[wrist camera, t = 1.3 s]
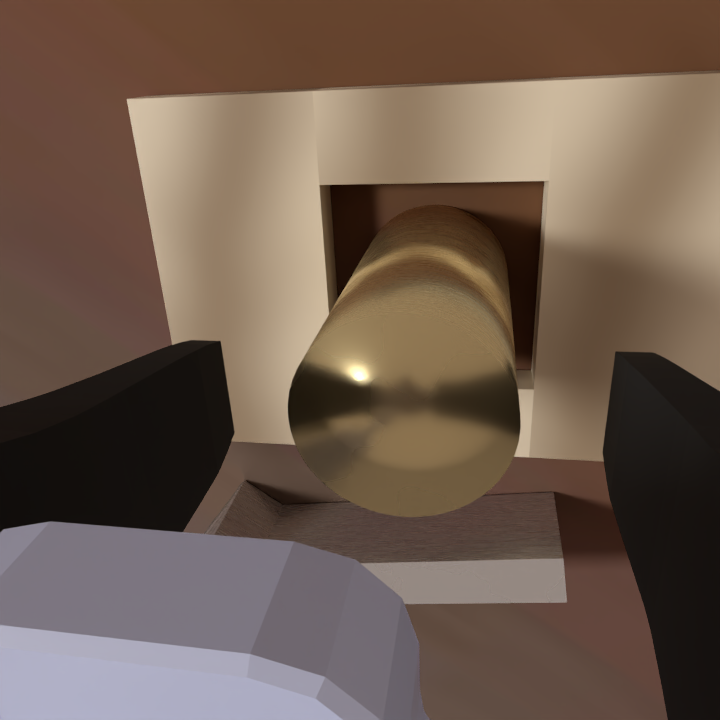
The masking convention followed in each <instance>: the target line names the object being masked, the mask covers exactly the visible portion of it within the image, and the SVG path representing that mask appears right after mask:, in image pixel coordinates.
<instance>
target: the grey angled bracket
mask: <svg viewBox="0 0 720 720" xmlns="http://www.w3.org/2000/svg"><path fill="white" fill-rule="evenodd" d="M204 534H209V535H221V536H233V537H245V538H257V539H269V540H281V541H293V542H297V543H301V544H304V545H308V546H311V547H314V548H318V549H321V550H325V551H328V552H331V553H335V554H338V555H342V556H345V557H348V558H352V559H355V560H357V561H358V562H359V563H360V564H362V565H363V566H364V567H365V568H366V569H368V570H369V571H370V572H371V573H372V574H374V575H375V576H376V577H377V578H378V579H380V580H381V581H382V582H383V583H385V584H386V585H387V586H388V587H389V588H391V589H392V590H393V591H394V592H395V593H397V594H398V595H399V596H400V597H401V598H402V599H403V602H404V604H452V603H554V602H567V597H566V585H565V573H564V560H563V553H562V546H561V539H560V532H559V526H558V519H557V512H556V505H555V499H554V492H547V493H526V494H505V495H484V496H481V497H480V498H478V499H476V500H475V501H473V502H471V503H470V504H467V505H465V506H463V507H461V508H459V509H456V510H453V511H450V512H447V513H443V514H438V515H433V516H423V517H401V516H393V515H387V514H383V513H378V512H375V511H372V510H369V509H366V508H363V507H360V506H358V505H356V504H354V503H352V502H337V503H316V504H295V505H282V504H280V503H279V502H277V501H276V500H274V499H273V498H271V497H270V496H268V495H267V494H265V493H263V492H262V491H260V490H259V489H257V488H256V487H254V486H253V485H251V484H250V483H248V482H247V481H244V482H243V483H242V484H241V486H240V487H239V488H238V490H237V491H236V492H235V494H234V495H233V496H232V498H231V499H230V500H229V502H228V503H227V504H226V505H225V507H224V508H223V509H222V511H221V512H220V513H219V515H218V516H217V517H216V519H215V520H214V521H213V523H212V524H211V525H210V526H209V528H208V529H207V530H206V532H205V533H204Z"/></svg>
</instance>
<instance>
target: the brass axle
mask: <svg viewBox="0 0 720 720" xmlns="http://www.w3.org/2000/svg"><path fill="white" fill-rule="evenodd" d="M288 420H289V425H290V430H291V434H292V437H293V440H294V443H295V445H296V447H297V449H298V451H299V453H300V455H301V457H302V458H303V460H304V461H305V463H306V464H307V466H308V467H309V468H310V469H311V471H312V472H313V473H314V474H315V475H316V477H318V478H319V479H320V480H321V481H322V482H323V483H324V484H325V485H326V486H327V487H329V488H330V489H331V490H332V491H334V492H335V493H336V494H338V495H340V496H341V497H343V498H345V499H346V500H348V501H350V502H352V503H354V504H356V505H358V506H360V507H363V508H366V509H369V510H372V511H375V512H378V513H383V514H387V515H393V516H401V517H423V516H433V515H438V514H443V513H447V512H450V511H453V510H456V509H459V508H461V507H463V506H465V505H467V504H470V503H471V502H473V501H475V500H476V499H478V498H480V497H481V496H483V495H484V494H485V493H486V492H487V491H489V490H490V489H491V488H492V487H493V486H494V485H495V484H496V483H497V482H498V481H499V480H500V479H501V478H502V476H503V475H504V473H505V472H506V470H507V469H508V467H509V466H510V464H511V461H512V459H513V457H514V455H515V452H516V449H517V446H518V443H519V436H520V429H521V421H520V405H519V393H518V382H517V371H516V360H515V349H514V337H513V326H512V315H511V304H510V292H509V281H508V270H507V263H506V258H505V255H504V251H503V249H502V247H501V245H500V243H499V241H498V239H497V238H496V236H495V235H494V233H493V232H492V231H491V230H490V229H489V228H488V226H487V225H485V224H484V223H483V222H482V221H481V220H479V219H478V218H476V217H475V216H473V215H472V214H470V213H468V212H466V211H463V210H461V209H458V208H454V207H450V206H444V205H427V206H421V207H416V208H413V209H410V210H407V211H405V212H403V213H401V214H399V215H397V216H396V217H394V218H393V219H391V220H390V221H389V222H387V223H386V224H385V225H384V226H383V227H382V228H381V229H380V231H379V232H378V233H377V234H376V236H375V237H374V239H373V241H372V242H371V244H370V246H369V247H368V249H367V251H366V252H365V254H364V256H363V257H362V259H361V261H360V263H359V264H358V266H357V268H356V269H355V271H354V273H353V274H352V276H351V278H350V280H349V281H348V283H347V285H346V286H345V288H344V290H343V291H342V293H341V295H340V297H339V298H338V300H337V302H336V303H335V305H334V307H333V308H332V310H331V312H330V313H329V315H328V317H327V319H326V320H325V322H324V324H323V325H322V327H321V329H320V330H319V332H318V334H317V336H316V337H315V339H314V341H313V342H312V344H311V346H310V347H309V349H308V351H307V353H306V354H305V356H304V358H303V359H302V361H301V363H300V364H299V366H298V368H297V370H296V373H295V375H294V377H293V379H292V383H291V387H290V391H289V398H288Z"/></svg>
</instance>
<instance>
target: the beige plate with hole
mask: <svg viewBox="0 0 720 720" xmlns="http://www.w3.org/2000/svg"><path fill="white" fill-rule="evenodd" d="M127 103H128V108H129V114H130V119H131V124H132V130H133V135H134V141H135V146H136V151H137V157H138V162H139V167H140V173H141V178H142V184H143V189H144V194H145V200H146V205H147V210H148V216H149V221H150V226H151V232H152V237H153V243H154V248H155V253H156V259H157V264H158V269H159V275H160V280H161V286H162V291H163V296H164V302H165V307H166V312H167V318H168V323H169V328H170V334H171V339H172V345H174V344H177V343H180V342H184V341H189V340H207V341H221V346H222V353H223V359H224V366H225V372H226V379H227V385H228V392H229V399H230V405H231V412H232V418H233V425H234V431H235V433H234V436H233V438H232V441H237V442H255V443H274V444H292V445H295V443H294V440H293V437H292V434H291V430H290V425H289V420H288V398H289V391H290V387H291V383H292V379H293V377H294V375H295V373H296V370H297V368H298V366H299V364H300V363H301V361H302V359H303V358H304V356H305V354H306V353H307V351H308V349H309V347H310V346H311V344H312V342H313V341H314V339H315V337H316V336H317V334H318V332H319V330H320V329H321V327H322V325H323V324H324V322H325V320H326V319H327V317H328V315H329V313H330V312H331V310H332V308H333V307H334V305H335V303H336V302H337V300H338V295H337V280H336V266H335V251H334V236H333V221H332V206H331V191H330V185H348V184H403V183H458V182H514V181H544V193H543V208H542V223H541V237H540V252H539V266H538V281H537V295H536V310H535V324H534V339H533V354H532V368H531V370H516V371H517V382H518V393H519V405H520V421H521V429H520V436H519V443H518V446H517V449H516V452H515V455H514V457H533V458H551V459H569V460H588V461H604V459H603V444H604V436H605V428H606V421H607V413H608V405H609V397H610V389H611V382H612V374H613V366H614V358H615V351H619V352H653V353H656V354H658V355H660V356H662V357H664V358H666V359H668V360H670V361H671V362H673V363H675V364H676V365H678V366H680V367H681V368H683V369H685V370H686V371H688V372H689V373H691V374H693V375H694V376H696V377H697V378H699V379H701V380H702V381H704V382H706V383H707V384H709V385H710V386H712V387H714V388H715V389H717V390H719V391H720V70H717V71H694V72H672V73H650V74H627V75H605V76H583V77H560V78H538V79H516V80H493V81H471V82H449V83H426V84H404V85H382V86H359V87H337V88H315V89H293V90H270V91H248V92H226V93H203V94H181V95H159V96H145V97H138V98H132V99H127Z"/></svg>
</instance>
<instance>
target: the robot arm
mask: <svg viewBox="0 0 720 720" xmlns="http://www.w3.org/2000/svg"><path fill="white" fill-rule="evenodd" d="M234 433H235V431H234V425H233V418H232V412H231V405H230V399H229V392H228V385H227V379H226V372H225V366H224V359H223V353H222V346H221V341H207V340H189V341H184V342H180V343H177V344H174V345H171V346H168V347H165V348H162V349H160V350H157V351H154V352H152V353H149V354H147V355H144V356H142V357H139V358H137V359H135V360H132V361H130V362H127V363H125V364H122V365H120V366H117V367H115V368H113V369H110V370H108V371H105V372H103V373H100V374H97V375H95V376H92V377H90V378H87V379H84V380H82V381H79V382H76V383H74V384H71V385H68V386H66V387H63V388H60V389H58V390H55V391H52V392H49V393H46V394H43V395H40V396H37V397H34V398H31V399H27V400H24V401H21V402H17V403H14V404H10V405H7V406H3V407H0V720H431V719H429V718H428V716H427V715H426V713H425V711H424V708H423V703H422V698H421V693H420V664H419V642H418V639H417V637H416V634H415V631H414V629H413V626H412V623H411V621H410V618H409V615H408V613H407V610H406V607H405V604H404V602H403V599H402V598H401V597H400V596H399V595H398V594H397V593H395V592H394V591H393V590H392V589H391V588H389V587H388V586H387V585H386V584H385V583H383V582H382V581H381V580H380V579H378V578H377V577H376V576H375V575H374V574H372V573H371V572H370V571H369V570H368V569H366V568H365V567H364V566H363V565H362V564H360V563H359V562H358V561H357V560H355V559H352V558H348V557H345V556H342V555H338V554H335V553H331V552H328V551H325V550H321V549H318V548H314V547H311V546H308V545H304V544H301V543H297V542H293V541H281V540H269V539H257V538H245V537H233V536H221V535H209V534H197V533H185V532H183V530H184V529H185V527H186V526H187V524H188V522H189V521H190V519H191V518H192V516H193V514H194V513H195V511H196V509H197V508H198V506H199V505H200V503H201V501H202V500H203V498H204V496H205V495H206V493H207V491H208V490H209V488H210V486H211V485H212V483H213V481H214V480H215V478H216V476H217V474H218V472H219V470H220V468H221V466H222V463H223V461H224V459H225V456H226V454H227V451H228V449H229V446H230V443H231V441H232V438H233V436H234ZM603 459H604V466H605V472H606V479H607V485H608V491H609V496H610V501H611V504H612V507H613V510H614V514H615V517H616V520H617V523H618V526H619V529H620V533H621V536H622V539H623V542H624V545H625V548H626V551H627V554H628V557H629V560H630V563H631V566H632V570H633V573H634V576H635V579H636V582H637V585H638V588H639V591H640V594H641V597H642V600H643V603H644V607H645V611H646V614H647V618H648V622H649V625H650V629H651V634H652V639H653V644H654V649H655V654H656V659H657V664H658V669H659V674H660V679H661V684H662V689H663V695H664V700H665V706H666V712H667V717H668V720H720V391H719V390H717V389H715V388H714V387H712V386H710V385H709V384H707V383H706V382H704V381H702V380H701V379H699V378H697V377H696V376H694V375H693V374H691V373H689V372H688V371H686V370H685V369H683V368H681V367H680V366H678V365H676V364H675V363H673V362H671V361H670V360H668V359H666V358H664V357H662V356H660V355H658V354H656V353H653V352H619V351H615V358H614V366H613V374H612V382H611V389H610V397H609V405H608V413H607V421H606V428H605V436H604V444H603Z"/></svg>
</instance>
